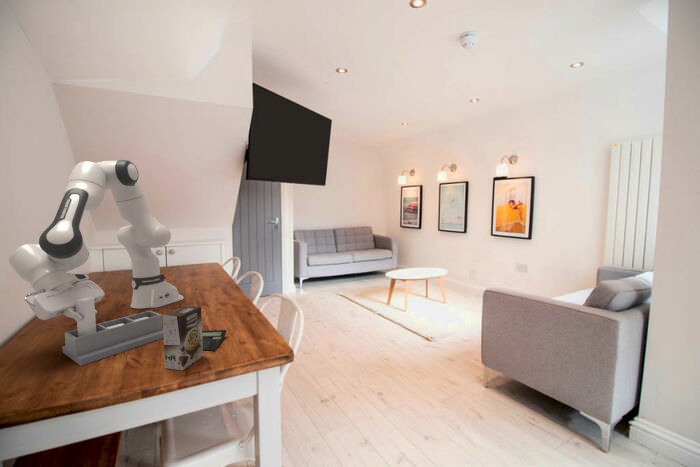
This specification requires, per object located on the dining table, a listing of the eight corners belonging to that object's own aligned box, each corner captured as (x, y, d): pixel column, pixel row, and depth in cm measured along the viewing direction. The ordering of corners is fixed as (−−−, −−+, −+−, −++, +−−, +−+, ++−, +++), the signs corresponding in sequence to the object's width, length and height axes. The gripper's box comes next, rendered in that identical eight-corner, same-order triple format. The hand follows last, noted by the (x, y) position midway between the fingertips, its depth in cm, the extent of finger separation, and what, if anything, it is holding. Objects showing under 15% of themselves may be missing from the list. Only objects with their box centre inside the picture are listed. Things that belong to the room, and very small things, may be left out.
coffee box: (183, 370, 89) (180, 316, 88) (164, 368, 91) (161, 314, 89) (204, 356, 98) (202, 306, 97) (186, 354, 100) (184, 305, 98)
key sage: (146, 321, 117) (146, 316, 117) (152, 324, 114) (152, 318, 114) (133, 325, 113) (132, 320, 113) (139, 328, 110) (138, 322, 110)
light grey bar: (87, 336, 102) (84, 297, 101) (96, 336, 102) (94, 297, 101) (78, 340, 99) (75, 300, 98) (87, 340, 98) (85, 300, 97)
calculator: (185, 353, 101) (185, 344, 101) (199, 338, 112) (199, 330, 112) (215, 352, 102) (214, 343, 101) (226, 337, 113) (226, 329, 113)
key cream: (122, 328, 110) (121, 323, 110) (128, 331, 108) (127, 325, 107) (106, 333, 106) (106, 327, 106) (112, 336, 104) (111, 330, 104)
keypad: (146, 327, 122) (145, 308, 121) (167, 336, 113) (166, 316, 113) (62, 352, 101) (60, 330, 101) (80, 365, 92) (78, 341, 92)
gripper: (27, 288, 89) (62, 322, 89) (90, 273, 109) (119, 300, 109) (13, 303, 89) (48, 336, 89) (79, 285, 110) (107, 313, 110)
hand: (88, 316), depth 99 cm, fingers closed on light grey bar, 3 cm apart
